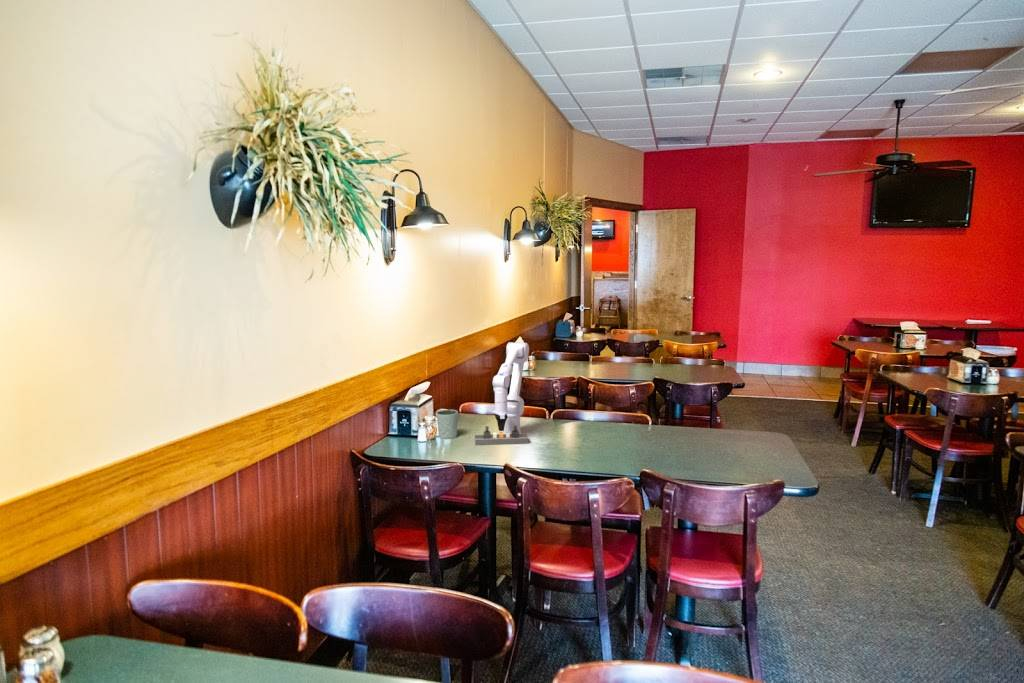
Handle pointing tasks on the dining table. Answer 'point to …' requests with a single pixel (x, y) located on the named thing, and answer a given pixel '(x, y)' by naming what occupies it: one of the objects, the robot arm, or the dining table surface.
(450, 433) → the gray cup
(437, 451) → the dining table surface
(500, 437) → the block
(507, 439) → the strip
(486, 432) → the cord plug
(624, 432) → the dining table surface
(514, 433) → the cord plug
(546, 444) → the dining table surface
